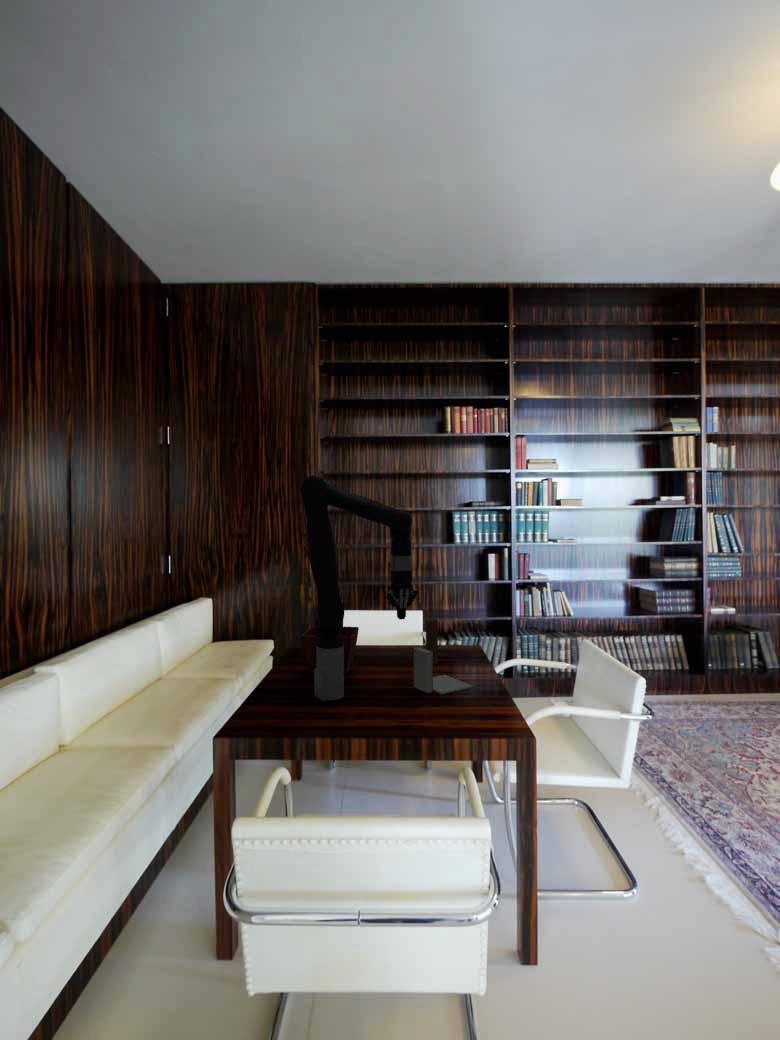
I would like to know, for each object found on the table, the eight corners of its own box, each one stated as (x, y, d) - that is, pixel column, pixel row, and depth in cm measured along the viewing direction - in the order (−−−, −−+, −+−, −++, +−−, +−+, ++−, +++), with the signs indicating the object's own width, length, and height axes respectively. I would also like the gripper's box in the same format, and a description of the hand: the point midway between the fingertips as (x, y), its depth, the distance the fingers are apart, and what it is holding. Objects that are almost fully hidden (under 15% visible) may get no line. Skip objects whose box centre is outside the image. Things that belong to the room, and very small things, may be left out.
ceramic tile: (427, 693, 184) (426, 652, 184) (414, 687, 191) (413, 648, 191) (432, 691, 186) (432, 651, 186) (419, 685, 193) (419, 647, 193)
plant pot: (359, 667, 217) (359, 626, 217) (351, 681, 198) (351, 636, 198) (313, 666, 219) (313, 625, 219) (301, 680, 200) (300, 635, 200)
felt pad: (441, 694, 183) (441, 692, 183) (415, 682, 196) (415, 680, 196) (472, 687, 190) (472, 685, 190) (445, 676, 204) (445, 674, 204)
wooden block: (416, 664, 220) (416, 621, 220) (415, 661, 225) (415, 619, 225) (438, 664, 221) (437, 621, 220) (436, 661, 225) (436, 619, 225)
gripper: (390, 570, 177) (391, 622, 177) (423, 568, 184) (423, 618, 184) (379, 568, 183) (379, 619, 183) (410, 566, 190) (411, 615, 190)
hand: (401, 618), depth 184 cm, fingers closed
